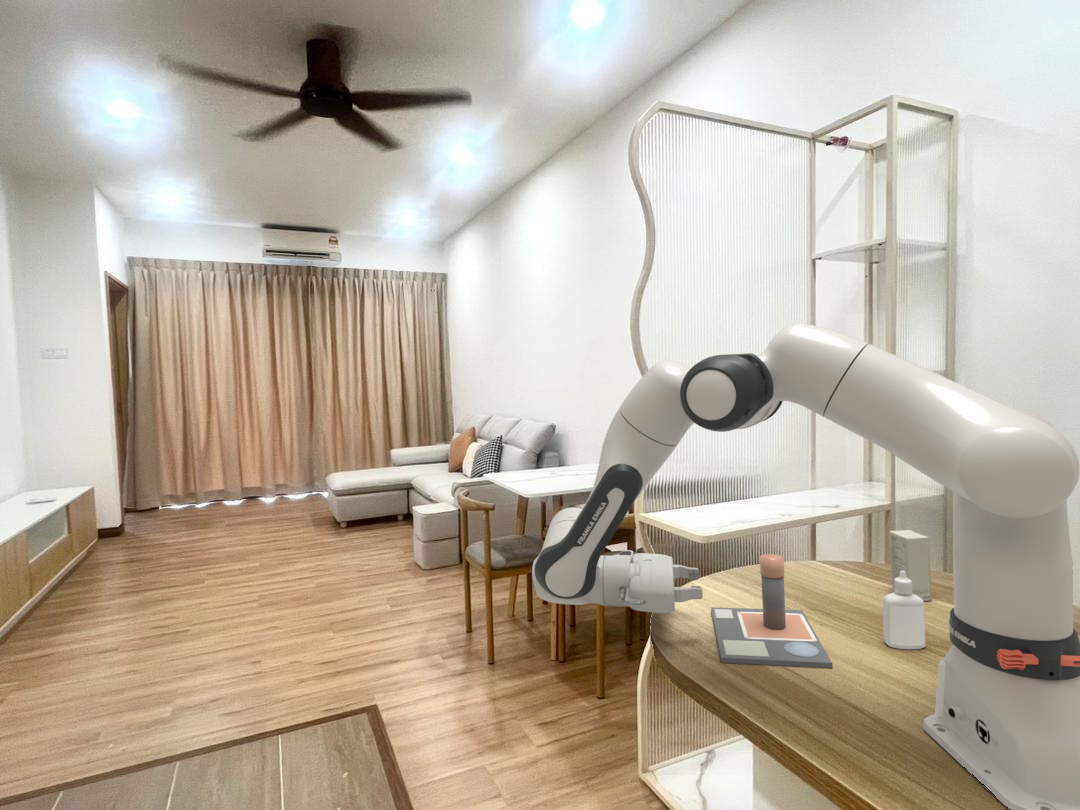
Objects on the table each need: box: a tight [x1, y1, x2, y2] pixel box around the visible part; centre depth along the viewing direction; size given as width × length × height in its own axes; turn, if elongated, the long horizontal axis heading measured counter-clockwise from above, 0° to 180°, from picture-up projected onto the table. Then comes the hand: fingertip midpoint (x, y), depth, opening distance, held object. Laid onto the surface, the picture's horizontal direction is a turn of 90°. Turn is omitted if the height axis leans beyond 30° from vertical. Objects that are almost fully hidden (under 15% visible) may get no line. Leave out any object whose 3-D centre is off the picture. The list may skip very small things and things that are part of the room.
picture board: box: [710, 607, 833, 669], centre depth 100 cm, size 20×16×1 cm
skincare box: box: [888, 529, 933, 602], centre depth 114 cm, size 6×4×12 cm
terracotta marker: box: [759, 553, 786, 630], centre depth 102 cm, size 4×4×12 cm
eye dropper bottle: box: [882, 571, 926, 650], centre depth 94 cm, size 4×6×12 cm
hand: (700, 582), depth 104 cm, fingers open, 8 cm apart
